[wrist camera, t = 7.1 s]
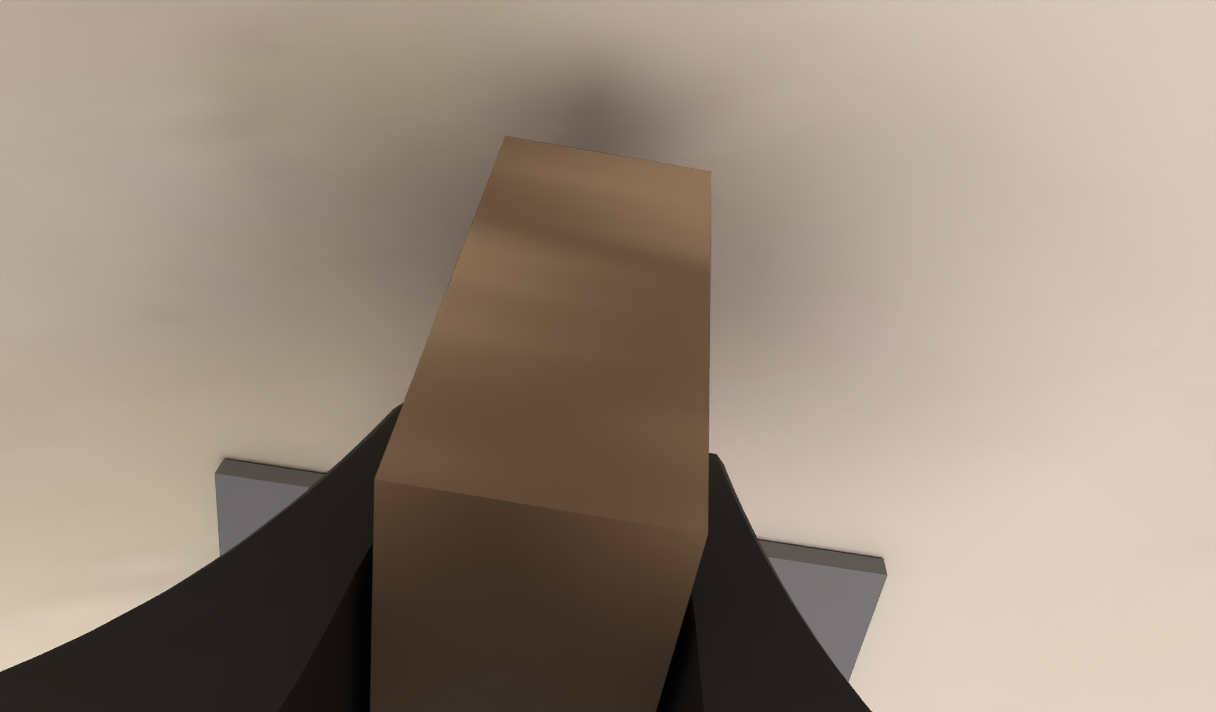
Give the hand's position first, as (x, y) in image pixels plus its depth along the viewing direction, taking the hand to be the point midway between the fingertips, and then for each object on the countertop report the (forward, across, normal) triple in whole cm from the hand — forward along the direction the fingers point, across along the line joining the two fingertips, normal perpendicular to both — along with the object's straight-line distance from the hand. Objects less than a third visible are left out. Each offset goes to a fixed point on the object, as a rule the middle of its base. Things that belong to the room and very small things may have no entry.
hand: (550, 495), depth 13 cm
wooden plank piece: (+3, 0, +1) cm, 3 cm away
